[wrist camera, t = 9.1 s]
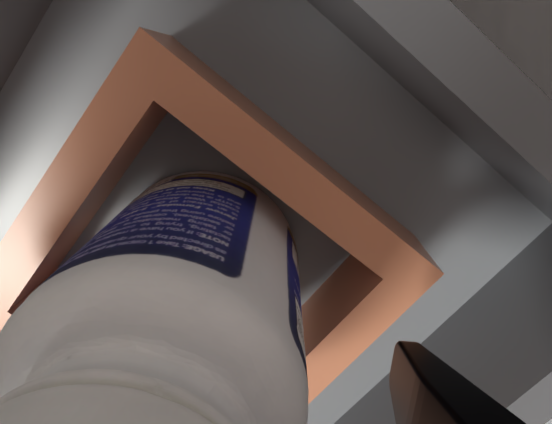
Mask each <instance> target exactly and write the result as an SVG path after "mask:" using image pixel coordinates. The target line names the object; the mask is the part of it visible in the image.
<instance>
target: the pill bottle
mask: <svg viewBox="0 0 552 424" xmlns="http://www.w3.org/2000/svg"><path fill="white" fill-rule="evenodd" d="M308 393H309V390H308V378H307V366H306V354H305V343H304V329H303V321H302V308H301V295H300V276H299V264H298V255H297V247H296V243H295V239H294V236H293V233H292V230H291V228H290V226H289V224H288V222H287V220H286V218H285V217H284V215H283V213H282V212H281V211H280V209H279V208H278V207H277V205H276V204H275V203H274V202H273V201H272V200H271V199H270V198H269V197H268V196H267V195H266V194H265V193H263V192H262V191H261V190H259V189H258V188H256V187H255V186H253V185H252V184H250V183H248V182H246V181H244V180H242V179H239V178H237V177H234V176H230V175H227V174H223V173H217V172H210V171H194V172H186V173H181V174H177V175H174V176H171V177H168V178H165V179H163V180H161V181H159V182H157V183H155V184H154V185H152V186H150V187H149V188H147V189H146V190H145V191H144V192H142V193H141V194H140V195H139V196H137V197H136V198H135V199H134V200H133V201H132V202H131V203H129V204H128V205H127V206H126V207H125V208H124V209H123V210H122V211H121V212H120V213H119V214H118V215H117V216H116V217H114V218H113V219H112V220H111V221H110V222H109V223H108V224H107V225H106V226H105V227H104V228H102V229H101V230H100V231H99V232H98V233H97V234H96V235H95V236H94V237H93V238H92V239H91V240H89V241H88V242H87V243H86V244H85V245H84V246H83V247H82V248H81V249H79V250H78V251H77V252H76V253H75V254H74V255H73V256H72V257H70V258H69V259H68V260H67V261H66V262H65V263H64V264H63V265H62V266H60V267H59V268H58V269H57V270H56V271H55V272H54V273H53V274H52V275H50V276H49V277H48V278H47V279H46V280H45V281H44V282H42V283H41V284H40V285H39V286H38V287H37V288H36V289H35V290H34V291H33V292H32V293H31V294H30V295H29V296H28V297H27V298H26V299H25V301H24V302H23V303H22V304H21V305H20V306H19V307H18V308H17V309H16V310H15V312H14V313H13V314H12V315H11V316H10V318H9V319H8V320H7V322H6V323H5V325H4V327H3V328H2V330H1V331H0V424H307V419H308Z"/></svg>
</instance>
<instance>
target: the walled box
mask: <svg viewBox="0 0 552 424" xmlns="http://www.w3.org/2000/svg"><path fill="white" fill-rule="evenodd" d="M194 171H210V172H217V173H223V174H227V175H230V176H234V177H237V178H239V179H242V180H244V181H246V182H248V183H250V184H252V185H253V186H255V187H256V188H258V189H259V190H261V191H262V192H263V193H265V194H266V195H267V196H268V197H269V198H270V199H271V200H272V201H273V202H274V203H275V204H276V205H277V207H278V208H279V209H280V211H281V212H282V213H283V215H284V217H285V218H286V220H287V222H288V224H289V226H290V228H291V230H292V233H293V236H294V239H295V243H296V247H297V255H298V264H299V276H300V295H301V308H302V321H303V329H304V343H305V354H306V366H307V378H308V390H309V393H308V419H307V424H396V422H395V417H394V411H393V405H392V399H391V394H390V388H389V375H390V369H391V364H392V358H393V353H394V347H395V345H396V343H397V342H398V341H412V342H418V343H420V344H421V345H423V346H424V347H425V348H427V349H428V350H429V351H431V352H432V353H433V354H435V355H436V356H437V357H439V358H440V359H441V360H443V361H444V362H445V363H447V364H448V365H449V366H451V367H452V368H453V369H455V370H456V371H457V372H459V373H460V374H461V375H463V376H464V377H465V378H466V379H468V380H469V381H470V382H472V383H473V384H474V385H476V386H477V387H478V388H480V389H481V390H482V391H484V392H485V393H486V394H488V395H489V396H490V397H492V398H493V399H494V400H496V401H497V402H498V403H500V404H501V405H502V406H504V407H505V408H506V409H508V410H509V411H510V412H512V413H513V414H514V415H516V416H517V417H518V418H520V419H521V420H522V421H524V422H525V423H526V424H545V423H546V422H548V421H549V420H550V419H552V100H551V99H550V98H549V97H548V96H547V95H546V94H545V93H544V92H543V91H542V90H541V89H540V88H539V87H538V86H537V85H536V84H535V83H534V82H533V81H532V80H531V79H530V78H528V77H527V76H526V75H525V74H524V73H523V72H522V71H521V70H520V69H519V68H518V67H517V66H516V65H515V64H514V63H513V62H512V61H511V60H510V59H509V58H508V57H507V56H506V55H505V54H504V53H503V52H502V51H501V50H500V49H499V48H498V47H497V46H496V45H495V44H494V43H493V42H492V41H491V40H490V39H489V38H488V37H487V36H486V35H485V34H484V33H482V32H481V31H480V30H479V29H478V28H477V27H476V26H475V25H474V24H473V23H472V22H471V21H470V20H469V19H468V18H467V17H466V16H465V15H464V14H463V13H462V12H461V11H460V10H459V9H458V8H457V7H456V6H455V5H454V4H453V3H452V2H451V1H450V0H0V331H1V330H2V328H3V327H4V325H5V323H6V322H7V320H8V319H9V318H10V316H11V315H12V314H13V313H14V312H15V310H16V309H17V308H18V307H19V306H20V305H21V304H22V303H23V302H24V301H25V299H26V298H27V297H28V296H29V295H30V294H31V293H32V292H33V291H34V290H35V289H36V288H37V287H38V286H39V285H40V284H41V283H42V282H44V281H45V280H46V279H47V278H48V277H49V276H50V275H52V274H53V273H54V272H55V271H56V270H57V269H58V268H59V267H60V266H62V265H63V264H64V263H65V262H66V261H67V260H68V259H69V258H70V257H72V256H73V255H74V254H75V253H76V252H77V251H78V250H79V249H81V248H82V247H83V246H84V245H85V244H86V243H87V242H88V241H89V240H91V239H92V238H93V237H94V236H95V235H96V234H97V233H98V232H99V231H100V230H101V229H102V228H104V227H105V226H106V225H107V224H108V223H109V222H110V221H111V220H112V219H113V218H114V217H116V216H117V215H118V214H119V213H120V212H121V211H122V210H123V209H124V208H125V207H126V206H127V205H128V204H129V203H131V202H132V201H133V200H134V199H135V198H136V197H137V196H139V195H140V194H141V193H142V192H144V191H145V190H146V189H147V188H149V187H150V186H152V185H154V184H155V183H157V182H159V181H161V180H163V179H165V178H168V177H171V176H174V175H177V174H181V173H186V172H194Z"/></svg>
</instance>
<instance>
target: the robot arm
mask: <svg viewBox="0 0 552 424" xmlns="http://www.w3.org/2000/svg"><path fill="white" fill-rule="evenodd" d="M389 388H390V394H391V399H392V405H393V411H394V417H395V422H396V424H526V423H525V422H524V421H522V420H521V419H520V418H518V417H517V416H516V415H514V414H513V413H512V412H510V411H509V410H508V409H506V408H505V407H504V406H502V405H501V404H500V403H498V402H497V401H496V400H494V399H493V398H492V397H490V396H489V395H488V394H486V393H485V392H484V391H482V390H481V389H480V388H478V387H477V386H476V385H474V384H473V383H472V382H470V381H469V380H468V379H466V378H465V377H464V376H463V375H461V374H460V373H459V372H457V371H456V370H455V369H453V368H452V367H451V366H449V365H448V364H447V363H445V362H444V361H443V360H441V359H440V358H439V357H437V356H436V355H435V354H433V353H432V352H431V351H429V350H428V349H427V348H425V347H424V346H423V345H421V344H420V343H418V342H412V341H398V342H397V343H396V345H395V347H394V353H393V358H392V364H391V369H390V375H389Z"/></svg>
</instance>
